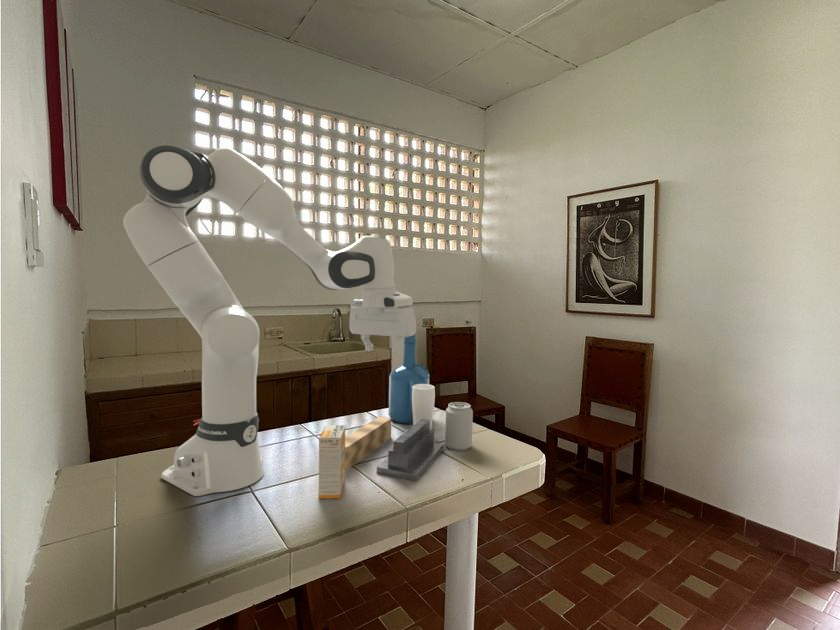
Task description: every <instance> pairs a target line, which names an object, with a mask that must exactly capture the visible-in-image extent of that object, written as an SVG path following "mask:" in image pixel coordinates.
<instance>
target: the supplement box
mask: <svg viewBox="0 0 840 630" xmlns="http://www.w3.org/2000/svg"><path fill="white" fill-rule="evenodd" d="M345 437H346V425H345V424H327V425H325V426H324V427H323V429H322V431H321V433H320V435H319V437H318V491H317V492H318V499H326V500H327V499H340V498H341V495H342V491H343V486H344V483H345V477H346V476H345V475H346V474H345V472H346V471H345Z"/></svg>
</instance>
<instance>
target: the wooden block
mask: <svg viewBox="0 0 840 630" xmlns="http://www.w3.org/2000/svg"><path fill="white" fill-rule="evenodd" d="M389 439H392V420H391V418H390V417H385V416H378V417H376V418H375V419H372V420H371V421H370V422H368V423H365V425H363V426H361V427H359V428H358V429H356V430H354V431H352V432H351V433H349V434H348V435H345V472H346V471H348V470H350V469H351V468H352V467H354V466H355V465H356V464H358V463H359V462H360V461H362V460H364V458H366V457H367V456H368V455H370V454H371V453H372V452H374V451H376V450H377V448H379V447H380V446H382V445H383V444H384V443H385V442H387V441H388V440H389ZM361 459H362V460H361ZM357 462H358V463H357Z"/></svg>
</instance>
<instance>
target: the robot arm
mask: <svg viewBox="0 0 840 630" xmlns="http://www.w3.org/2000/svg"><path fill="white" fill-rule="evenodd" d="M139 176H140V179H141V182H142V184H143V186H144V189H145V191H146V196H145V198H144V200H143V201H142V202H139V203H137V204H135V205H134V206H132V207H131V208H130V209H129V210H128V211H127V212H126V213H125V215H124V217H123V221H122V223H123V228H124V229H125V232H126V234H127V236H128V238H129V240H130V242H131V244H132V246H133V247H134V249H135V251H136V252H137V255H139V257H140V258H141V260H142V261H143V263H144V265H145V266H146V267H147V269H148V270H149V271H150V272H151V274H152V276H153V277H154V278H155V279H156V281H157V282H158V283H159V285H160V286H161V287H162V288H163V290H164V291H165V293H166V294H167V295H168V297H169V298H170V299H171V301H172V302H173V303H174V305H175V306H176V307H177V308H178V309H179V311H180V312H181V313H182V315H184V316H185V319H187V321H188V322H189V323H190V324H191V326H192V327H193V328H194V330H195V331H196V332H197V333H198V335H199V336H200V338H201V360H202V361H201V407H202V408H201V409H202V410H201V411H202V412H201V413H202V417H201V418H198V419H195V420H193V421H192V422H193V423H194V422H195V423H194V424H193V426H197V425H198V426H197V428H196V429H197V430H196V433H195V434H194V435H193V436H191V437H190V438H189V439H187V440H186V441H185V442H184V443H183V444H181V445H180V446H179V447H178V448H177V449H176V451H175V453H174V457H173V465H171V466H169V467H168V468H166V469H165V470H164V471H162V473H161V477H160V478H161V479H162V480H164V481H166V482H168V483H169V484H171V485H172V486H175V487H177V488H179V489H180V490H182V491H184V492H186V493H188V494H189V495H192V496H194V497H200V496H205V495H208V494H214V493H222V492H223V493H224V492H230V491H235V490H240V489H242V488H246V487H248V486H250V485H252V484H255V483H256V482H258V481H259V480H260V479H261V478H263V477H264V474H265V470H264V467H263V463H264V461H263V457H262V456H261V450H260V440H259V434H258V431H259V422H260V418H259V414H258V412H257V375H258V366H259V355H260V337H261V336H260V332H261V331H260V327H259V324H258V322H257V321H256V319H255V318H254V316H253V315H251V314H250V313H249V312H247V311H246V310H245V308H244V307H243V305H242V304H241V303H240V301H239V299H238V298H237V296H236V295H235V293H234V292H233V290H232V288H231V287H230V286H229V284H228V282H227V280H226V279H225V278H224V277H225V276H224V275H223V274H222V272H221V271H220V270H219V268H218V266H217V265H216V264H215V261H214V260H213V259H212V258H211V256H210V254H209V253H208V252H207V250H206V249H205V247H204V245H203V244H202V243H201V242H200V240H199V239H198V237H197V236H196V234H195V233H194V232H193V231H194V230H192V227H190V225H189V222H188V221H187V218H186V217H187V216H188V215H189V214H190V213H191V212H192V211H193V210H194V209H196V208H197V207H198V206H199V205H200V204H201V202H202V200H203V199H204V198H212V199H216V200H218V201H220V202H222V204H223V203H224V204H226V206H227V207H229V208H230V209H231V210H232V211H234V212H235V213H236V214H237V215H239V216H240V217H241V218H242V219H243V220H245V221H246V222H247V223H250V224H251V225H253V226H254V227H255V228H257V229H258V230H260V231H262V232H264V233H265V234H267V235H269V236H270V237H271V238H273V239H275V240H276V241H278V242H279V243H280V244H282V245H283V246H284V247H286V248H287V249H288V250H289V251H290V252H291V253H292V254H294V255H295V256H296V257H297V258H298V259H299V260H301V261H302V263H304V264H305V265H306V266H307V267H308V269H310V271H311V274H312V275H313V277H314V279H315V281H316V282H317V283H318V285H320V286H321V287H322V288H324V289H326V290H329V291H339V290H352V289H355V288H356V287H360V289H361V290H360V291H361V299H354V300H353V301H352V302H351V303H350V306H349V307H350V310H349V311H350V312H349V323H348V324H349V331H350V332H351V334H352V335H360V339H361V341H362V342H363V344H364V347H365V348H364V349H365V351H366V352H371V351H373V350H374V343H372V342H371V340H370V337H371V336H384V337H385V336H386V337H394V340H395V341H396V342H395V346H394V345H393V346H392V347H391V348H392V353H393V354H401V353H402V345H403V344H404V337H409V336H412V335H414V334H416V332H417V321H416V314H415V310H414V308H413V307H412V305H413V304H414V303H413V302H414V301H413V297H411V296H410V295H407V294H404V293H402V292H399V291H397V290H396V283H395V280H394V274H395V261H394V253H393V248H392V246H391V243H390V241H389V240H388V239H387V238H385V237H382V236H377V235H364V236H363V235H362V236H361V237H360V238H359V239H358V240H356V241H355V242H353V243H352V244H351V245H348V246H347V247H345V248H342V249H340V250H337V251H333V250H329V249H327V248H325V247H324V246H323V245H322V244H321V243H319V242H318V240H316V239H315V238H314V237H313V236H312V235H310V234H309V233H308V232H307V231H306V230H305V228H303V227H302V225H301V224H300V223H299V220H298V219H297V215H296V212H295V211H296V210H295V206H294V202H293V199H292V197H291V196H290V195H289V193H288V192H287V191H286V190H285V189H284V188H283V187H282V185H281V184H280V183H278V181H276V180H275V179H274V178H273V177H272V176H270V174H268V173H267V172H266V170H264V169H263V168H261V167H260V166H258V165H257V164H256V163H255V162H253V161H252V160H250V159H249V158H247V157H246V156H244V155H243V154H242V153H239V152H237V151H236V150H234V149H232V148H227V147H224V148H218V149H217V150H214V151H213V152H211V153H210V154H208V156H206V155H205V154H204V153H201V152H196V151H193V150H190V149H186V148H183V147H179V146H175V145H169V144H166V145H165V144H164V145H158V146H155V147H153V148H150V150H148V151H146V152H145V154H144V156H143V157H142V158H141V161H140V164H139Z"/></svg>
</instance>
